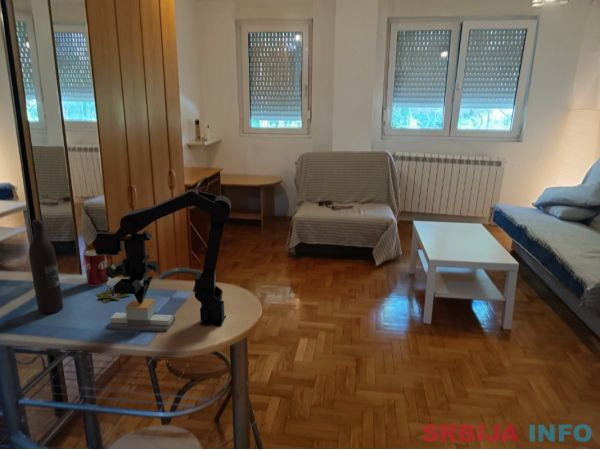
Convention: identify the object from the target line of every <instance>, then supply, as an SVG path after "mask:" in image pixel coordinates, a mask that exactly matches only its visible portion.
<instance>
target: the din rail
mask: <svg viewBox="0 0 600 450" xmlns="http://www.w3.org/2000/svg"><path fill="white" fill-rule="evenodd" d="M149 322H150V325H149V326H131V325H127V316H126V312H115V313H114V314H113V315H112V316H111V317H110V322H109V323H108V324H107V328H108V329H115V330H118V329H119V330H133V331H134V330H137V331H156V332H168V331H169V329H170V328H171V326H172V325H173V324H174V323H175V322H176V316H174V315H173V314H172V315H171V314H158V313H156V314H153V315H152V316H151V317H150V319H149Z"/></svg>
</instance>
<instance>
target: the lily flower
mask: <svg viewBox="0 0 600 450" xmlns="http://www.w3.org/2000/svg"><path fill="white" fill-rule="evenodd" d="M115 284H116V282H114V283H113V285H115ZM105 286H106V287H107V289H105V290H104V291H103V292H99V293H96V294H95V295H96V296H98V297H97V298H96V299H95V301H96V300H100V299H102V302H103V304H104V303H107V302H110V301H113V300H116V301H118V302H119V301H120V299H121V298H122V297H131V294H118V293H114V288H113V286H108V285H107V284H105ZM109 298H110V299H109Z"/></svg>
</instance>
